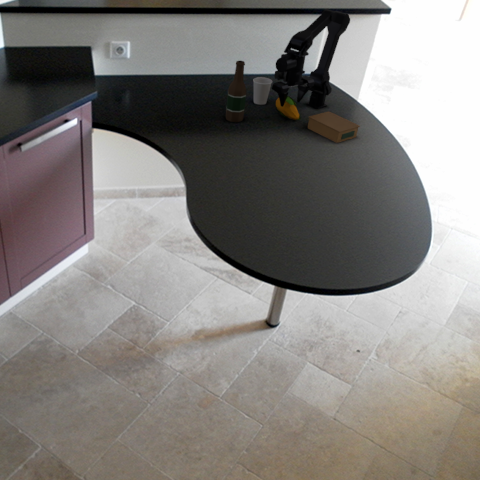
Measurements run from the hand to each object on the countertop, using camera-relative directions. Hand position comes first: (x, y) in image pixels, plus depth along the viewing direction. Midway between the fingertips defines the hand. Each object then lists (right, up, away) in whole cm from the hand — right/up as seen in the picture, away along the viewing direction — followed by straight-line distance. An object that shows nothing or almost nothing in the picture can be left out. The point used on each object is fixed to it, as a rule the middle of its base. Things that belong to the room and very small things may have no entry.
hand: (290, 104), depth 247 cm
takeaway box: (+15, -14, -9) cm, 22 cm away
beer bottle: (-24, -6, -1) cm, 24 cm away
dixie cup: (-10, +4, +15) cm, 19 cm away
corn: (0, -5, +3) cm, 6 cm away
